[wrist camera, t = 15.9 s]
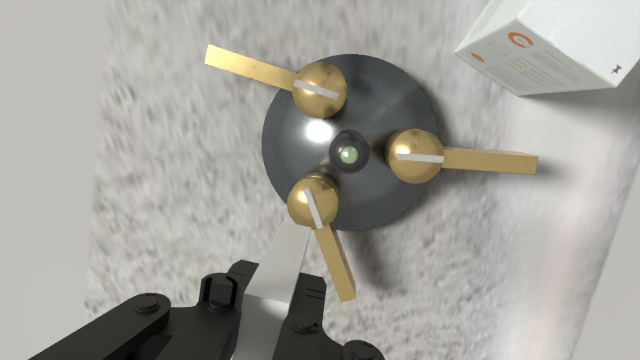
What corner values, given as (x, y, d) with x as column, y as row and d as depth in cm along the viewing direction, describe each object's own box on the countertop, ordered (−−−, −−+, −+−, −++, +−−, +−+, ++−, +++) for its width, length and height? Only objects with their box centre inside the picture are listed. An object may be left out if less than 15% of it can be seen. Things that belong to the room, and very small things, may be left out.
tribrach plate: (236, 106, 36) (204, 105, 28) (391, 24, 34) (407, -4, 25) (311, 248, 39) (302, 287, 31) (460, 183, 36) (494, 206, 28)
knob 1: (353, 76, 33) (354, 71, 29) (337, 123, 34) (336, 125, 30) (227, 34, 33) (210, 24, 29) (215, 83, 34) (197, 80, 30)
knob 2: (286, 180, 36) (279, 190, 31) (330, 165, 35) (327, 173, 31) (327, 287, 38) (325, 309, 34) (369, 275, 37) (372, 296, 33)
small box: (559, 40, 33) (694, -2, 20) (517, 97, 34) (618, 91, 22) (491, -6, 33) (585, -80, 20) (451, 53, 34) (514, 20, 21)
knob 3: (381, 173, 35) (386, 181, 30) (386, 125, 34) (392, 128, 29) (511, 183, 34) (534, 193, 30) (520, 134, 33) (545, 138, 29)
